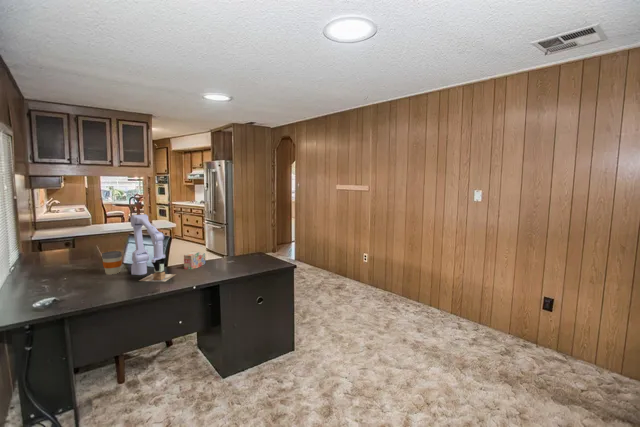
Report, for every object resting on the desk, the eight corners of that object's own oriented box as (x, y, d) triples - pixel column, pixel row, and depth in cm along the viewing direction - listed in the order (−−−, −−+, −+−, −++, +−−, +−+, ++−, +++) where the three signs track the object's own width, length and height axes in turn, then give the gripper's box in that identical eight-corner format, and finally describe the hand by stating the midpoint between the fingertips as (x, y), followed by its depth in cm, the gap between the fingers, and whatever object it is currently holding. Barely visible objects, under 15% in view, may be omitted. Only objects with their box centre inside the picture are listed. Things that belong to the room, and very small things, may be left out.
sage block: (154, 271, 217) (154, 265, 216) (157, 270, 221) (157, 263, 221) (160, 271, 217) (160, 265, 216) (164, 270, 221) (163, 263, 221)
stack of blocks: (198, 263, 266) (198, 248, 265) (205, 263, 265) (205, 249, 264) (184, 270, 245) (183, 254, 244) (191, 271, 244) (191, 255, 243)
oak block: (153, 280, 217) (153, 273, 217) (157, 277, 222) (157, 271, 222) (161, 280, 217) (161, 274, 217) (165, 278, 222) (164, 271, 222)
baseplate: (138, 282, 216) (138, 280, 216) (151, 275, 232) (151, 273, 232) (165, 282, 216) (165, 281, 216) (176, 275, 232) (176, 274, 232)
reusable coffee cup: (124, 269, 244) (123, 250, 243) (120, 274, 232) (119, 254, 231) (105, 271, 240) (104, 251, 239) (100, 276, 229) (98, 255, 227)
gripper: (158, 253, 210) (159, 273, 212) (169, 248, 225) (170, 267, 226) (148, 252, 210) (148, 273, 212) (159, 248, 225) (160, 267, 226)
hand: (159, 270), depth 219 cm, fingers closed on sage block, 4 cm apart
